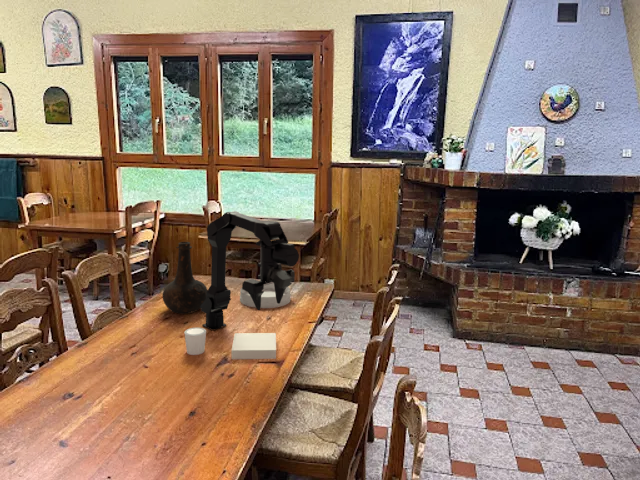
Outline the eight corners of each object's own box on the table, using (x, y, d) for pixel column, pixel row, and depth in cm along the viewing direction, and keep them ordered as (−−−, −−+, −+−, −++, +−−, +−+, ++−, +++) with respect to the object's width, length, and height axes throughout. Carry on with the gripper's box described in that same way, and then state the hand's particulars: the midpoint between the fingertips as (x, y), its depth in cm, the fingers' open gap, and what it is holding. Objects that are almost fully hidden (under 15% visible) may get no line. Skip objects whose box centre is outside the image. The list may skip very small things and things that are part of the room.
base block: (231, 359, 152) (231, 350, 152) (234, 341, 166) (234, 333, 165) (275, 358, 154) (276, 350, 153) (275, 341, 167) (275, 333, 167)
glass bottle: (184, 321, 183) (183, 249, 177) (153, 311, 192) (150, 242, 186) (217, 308, 198) (217, 242, 192) (186, 300, 207) (185, 236, 201)
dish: (230, 304, 204) (230, 293, 203) (252, 290, 225) (252, 280, 224) (279, 311, 198) (279, 300, 197) (297, 296, 218) (297, 285, 217)
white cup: (200, 356, 153) (200, 336, 152) (180, 354, 154) (180, 333, 153) (209, 348, 160) (209, 328, 158) (190, 345, 161) (190, 326, 160)
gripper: (266, 270, 143) (265, 320, 146) (307, 260, 158) (305, 305, 161) (241, 263, 150) (241, 311, 153) (282, 254, 164) (281, 298, 167)
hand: (268, 306), depth 158 cm, fingers open, 9 cm apart
